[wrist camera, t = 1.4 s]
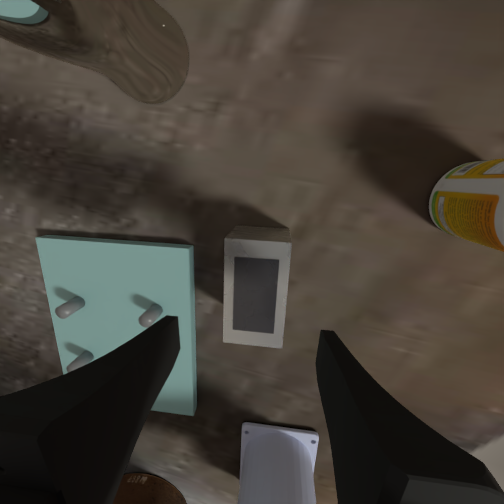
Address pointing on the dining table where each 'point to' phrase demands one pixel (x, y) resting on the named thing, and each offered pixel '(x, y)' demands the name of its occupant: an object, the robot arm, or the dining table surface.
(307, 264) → the dining table surface
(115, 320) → the pin tray
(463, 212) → the supplement bottle
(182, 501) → the pitcher
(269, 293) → the block
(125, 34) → the beer glass
